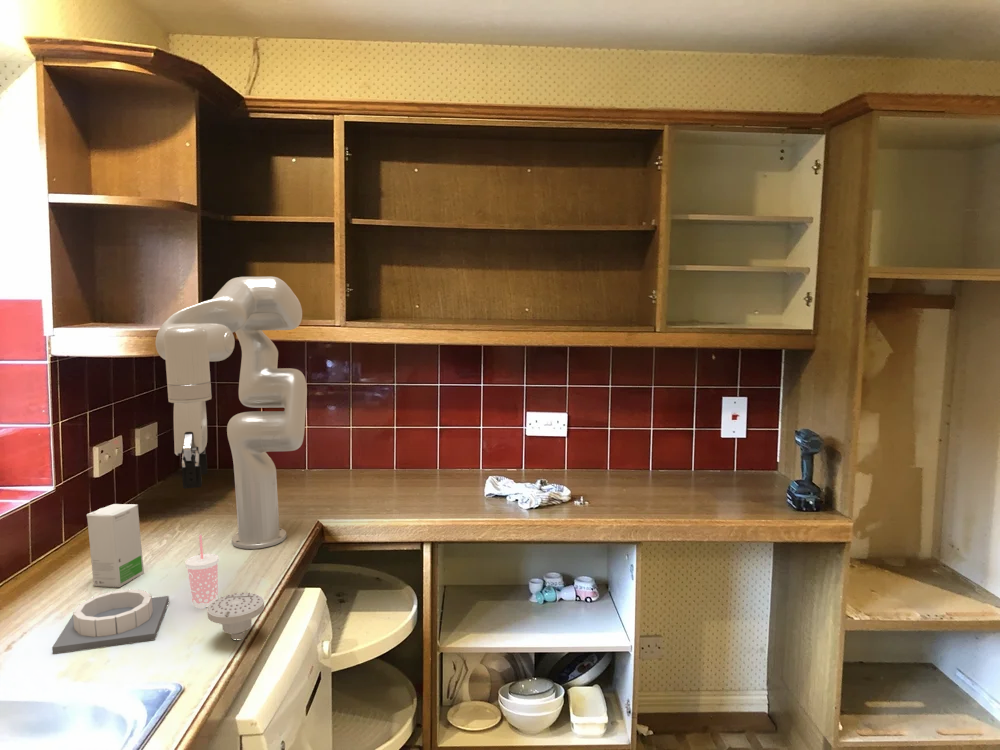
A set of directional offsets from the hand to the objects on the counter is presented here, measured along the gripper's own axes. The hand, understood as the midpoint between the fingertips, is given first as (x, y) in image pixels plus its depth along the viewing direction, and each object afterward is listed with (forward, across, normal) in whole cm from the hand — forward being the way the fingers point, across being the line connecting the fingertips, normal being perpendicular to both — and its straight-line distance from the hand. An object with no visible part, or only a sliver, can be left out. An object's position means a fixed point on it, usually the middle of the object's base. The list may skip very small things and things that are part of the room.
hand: (195, 480), depth 139 cm
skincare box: (+25, -18, -19) cm, 36 cm away
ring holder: (+25, +4, -15) cm, 29 cm away
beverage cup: (+25, 0, 0) cm, 25 cm away
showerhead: (+25, +16, +7) cm, 31 cm away
